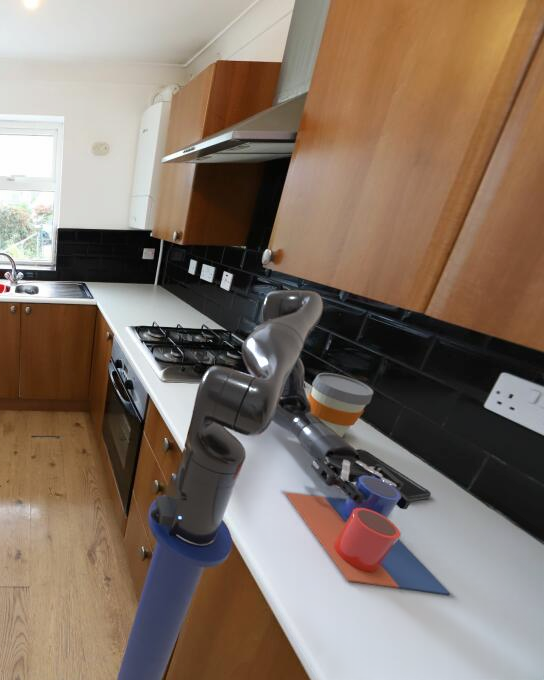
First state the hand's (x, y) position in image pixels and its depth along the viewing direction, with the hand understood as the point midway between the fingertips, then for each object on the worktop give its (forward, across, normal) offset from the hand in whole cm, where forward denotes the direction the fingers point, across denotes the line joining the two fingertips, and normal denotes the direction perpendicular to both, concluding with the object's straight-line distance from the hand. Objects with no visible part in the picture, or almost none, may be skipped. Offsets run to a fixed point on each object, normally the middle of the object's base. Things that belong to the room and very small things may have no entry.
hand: (383, 503), depth 67 cm
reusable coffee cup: (-35, +14, +7) cm, 38 cm away
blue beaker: (-2, 0, +7) cm, 7 cm away
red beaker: (+7, -8, +7) cm, 12 cm away
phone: (-17, +16, +7) cm, 24 cm away
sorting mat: (+2, -4, +7) cm, 8 cm away
